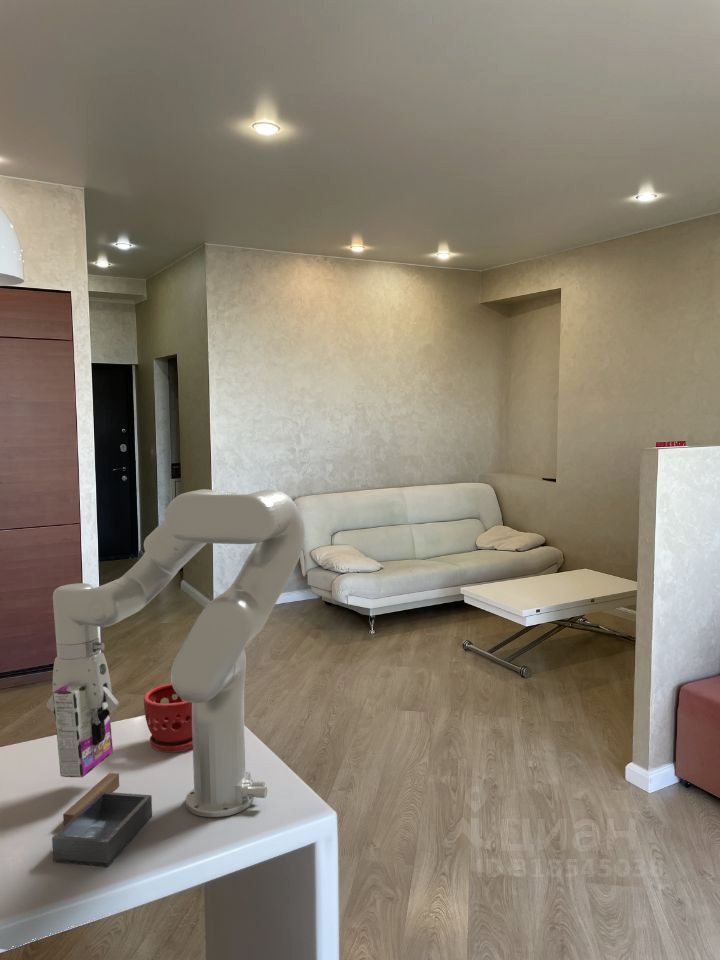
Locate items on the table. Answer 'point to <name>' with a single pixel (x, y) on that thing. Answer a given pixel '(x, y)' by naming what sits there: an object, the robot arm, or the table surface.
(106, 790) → the door edge rail
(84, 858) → the keeper
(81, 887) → the table surface
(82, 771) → the candy bar box
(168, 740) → the plant pot
